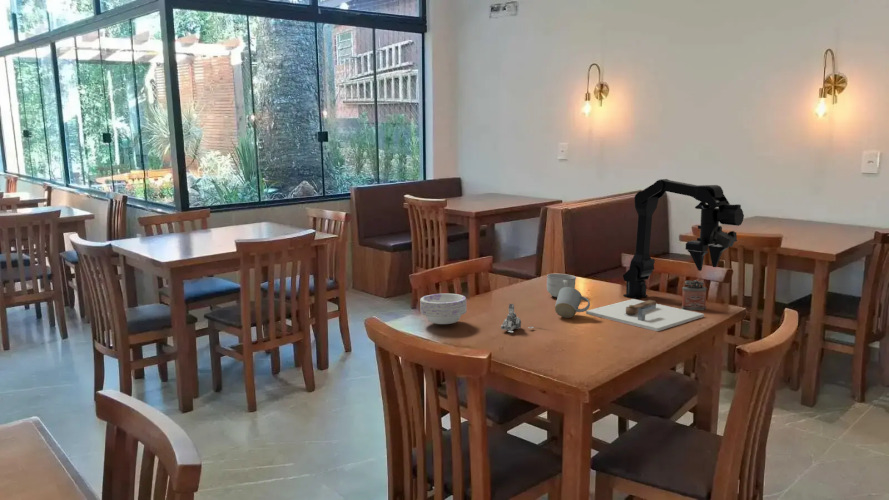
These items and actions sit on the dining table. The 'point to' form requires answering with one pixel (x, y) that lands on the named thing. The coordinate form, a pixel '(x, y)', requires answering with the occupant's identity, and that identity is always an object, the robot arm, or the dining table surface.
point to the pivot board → (646, 315)
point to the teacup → (559, 283)
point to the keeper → (642, 311)
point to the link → (634, 308)
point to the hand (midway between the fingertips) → (707, 268)
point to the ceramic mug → (569, 302)
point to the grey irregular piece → (511, 320)
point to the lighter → (694, 296)
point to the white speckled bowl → (443, 307)
